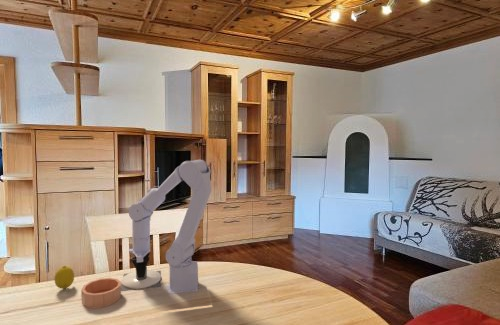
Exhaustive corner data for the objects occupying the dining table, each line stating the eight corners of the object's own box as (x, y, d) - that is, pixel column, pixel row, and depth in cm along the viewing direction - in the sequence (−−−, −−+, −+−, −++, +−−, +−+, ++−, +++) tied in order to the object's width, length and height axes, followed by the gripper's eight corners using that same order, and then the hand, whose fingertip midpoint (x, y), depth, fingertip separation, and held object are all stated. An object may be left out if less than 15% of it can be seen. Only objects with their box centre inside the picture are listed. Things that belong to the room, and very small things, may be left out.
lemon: (65, 294, 99) (64, 270, 98) (50, 292, 100) (50, 268, 99) (78, 286, 104) (77, 263, 104) (64, 284, 105) (63, 261, 105)
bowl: (122, 289, 103) (122, 276, 102) (118, 306, 92) (118, 292, 92) (86, 293, 100) (86, 279, 100) (78, 311, 90) (77, 296, 89)
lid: (160, 270, 117) (160, 259, 116) (160, 286, 104) (160, 274, 104) (123, 274, 113) (123, 262, 113) (119, 290, 101) (118, 277, 100)
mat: (160, 272, 117) (160, 270, 117) (160, 288, 104) (160, 286, 104) (123, 275, 113) (123, 274, 113) (119, 292, 101) (119, 291, 101)
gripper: (131, 231, 113) (131, 267, 114) (126, 244, 99) (127, 285, 100) (151, 230, 115) (151, 265, 116) (149, 242, 101) (149, 282, 102)
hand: (141, 274), depth 109 cm, fingers closed on lid, 4 cm apart
